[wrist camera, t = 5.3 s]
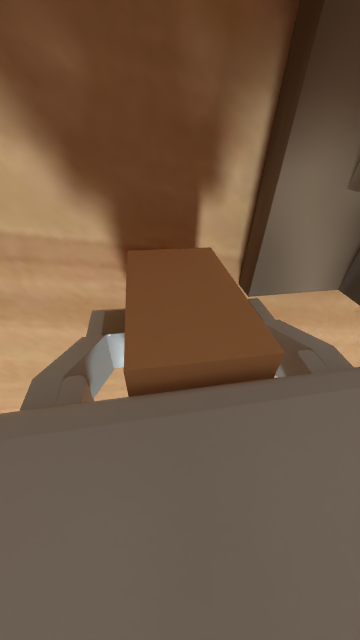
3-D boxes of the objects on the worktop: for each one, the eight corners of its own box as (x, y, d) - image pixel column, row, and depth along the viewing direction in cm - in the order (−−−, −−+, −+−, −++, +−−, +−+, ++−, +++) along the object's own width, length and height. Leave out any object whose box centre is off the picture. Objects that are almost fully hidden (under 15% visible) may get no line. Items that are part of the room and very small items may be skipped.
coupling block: (210, 247, 11) (285, 352, 6) (203, 312, 14) (249, 427, 8) (127, 250, 10) (123, 371, 5) (135, 318, 13) (138, 446, 8)
